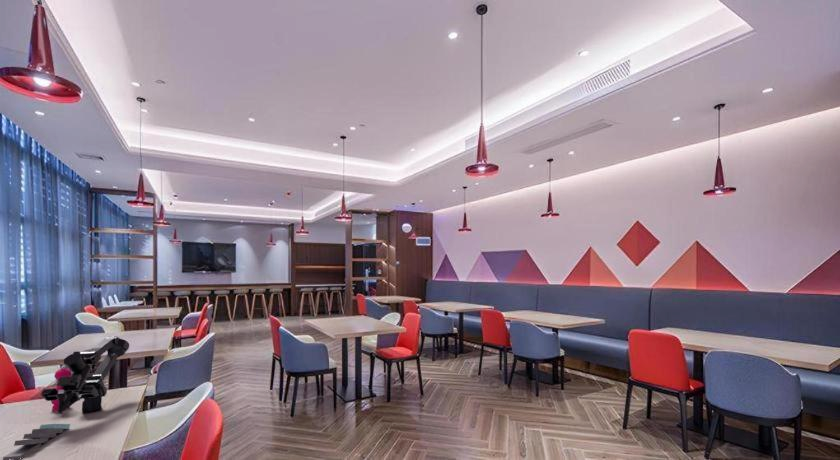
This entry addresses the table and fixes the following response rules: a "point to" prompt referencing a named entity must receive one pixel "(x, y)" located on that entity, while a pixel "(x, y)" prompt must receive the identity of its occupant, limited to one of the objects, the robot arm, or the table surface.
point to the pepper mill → (60, 373)
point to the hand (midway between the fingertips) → (59, 413)
